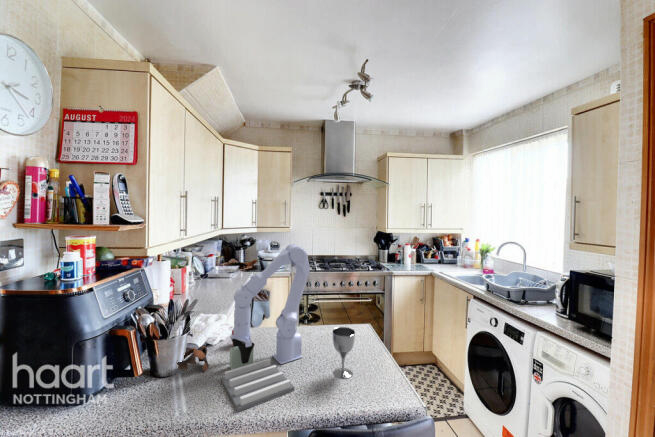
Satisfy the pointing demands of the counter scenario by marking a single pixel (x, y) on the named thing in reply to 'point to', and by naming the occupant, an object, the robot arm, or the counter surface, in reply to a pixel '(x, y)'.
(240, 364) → the mint green upright block
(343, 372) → the wine glass
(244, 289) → the robot arm
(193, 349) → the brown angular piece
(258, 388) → the rack
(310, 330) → the counter surface
